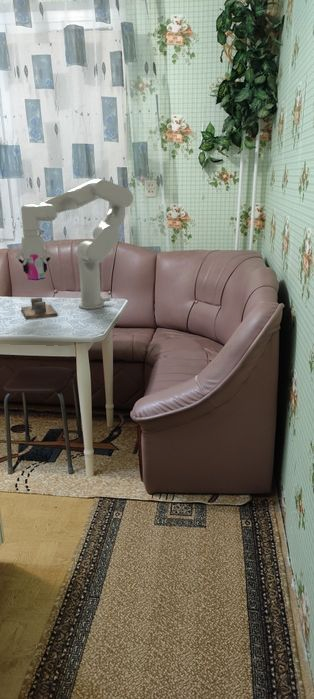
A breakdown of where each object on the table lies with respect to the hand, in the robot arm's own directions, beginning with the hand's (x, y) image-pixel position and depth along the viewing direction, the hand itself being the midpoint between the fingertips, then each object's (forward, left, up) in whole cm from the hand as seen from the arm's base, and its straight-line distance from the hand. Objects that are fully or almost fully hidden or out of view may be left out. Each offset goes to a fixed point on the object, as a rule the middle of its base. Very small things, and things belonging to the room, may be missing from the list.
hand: (35, 272), depth 234 cm
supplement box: (0, 0, -3) cm, 3 cm away
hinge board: (0, 0, -19) cm, 19 cm away
